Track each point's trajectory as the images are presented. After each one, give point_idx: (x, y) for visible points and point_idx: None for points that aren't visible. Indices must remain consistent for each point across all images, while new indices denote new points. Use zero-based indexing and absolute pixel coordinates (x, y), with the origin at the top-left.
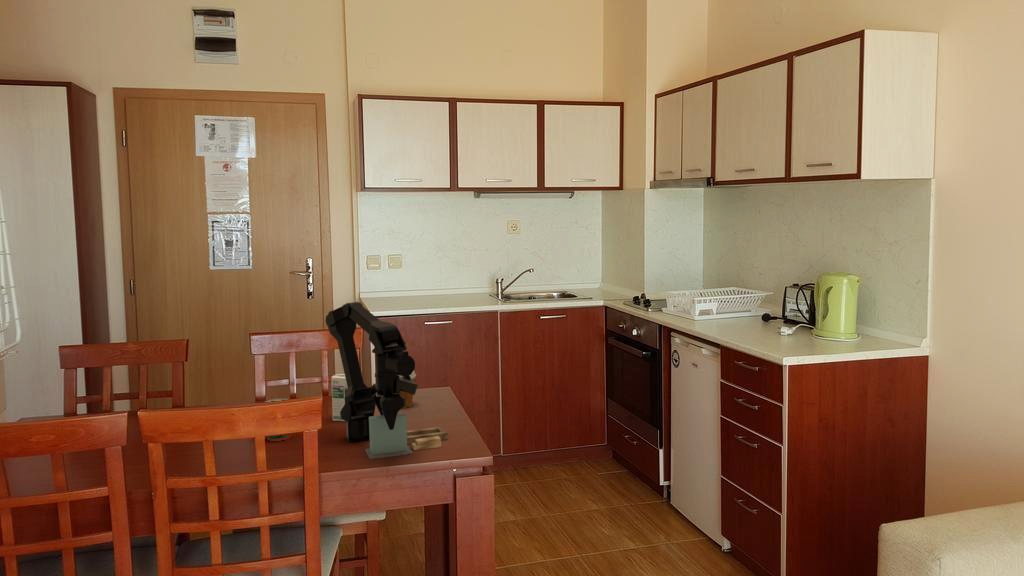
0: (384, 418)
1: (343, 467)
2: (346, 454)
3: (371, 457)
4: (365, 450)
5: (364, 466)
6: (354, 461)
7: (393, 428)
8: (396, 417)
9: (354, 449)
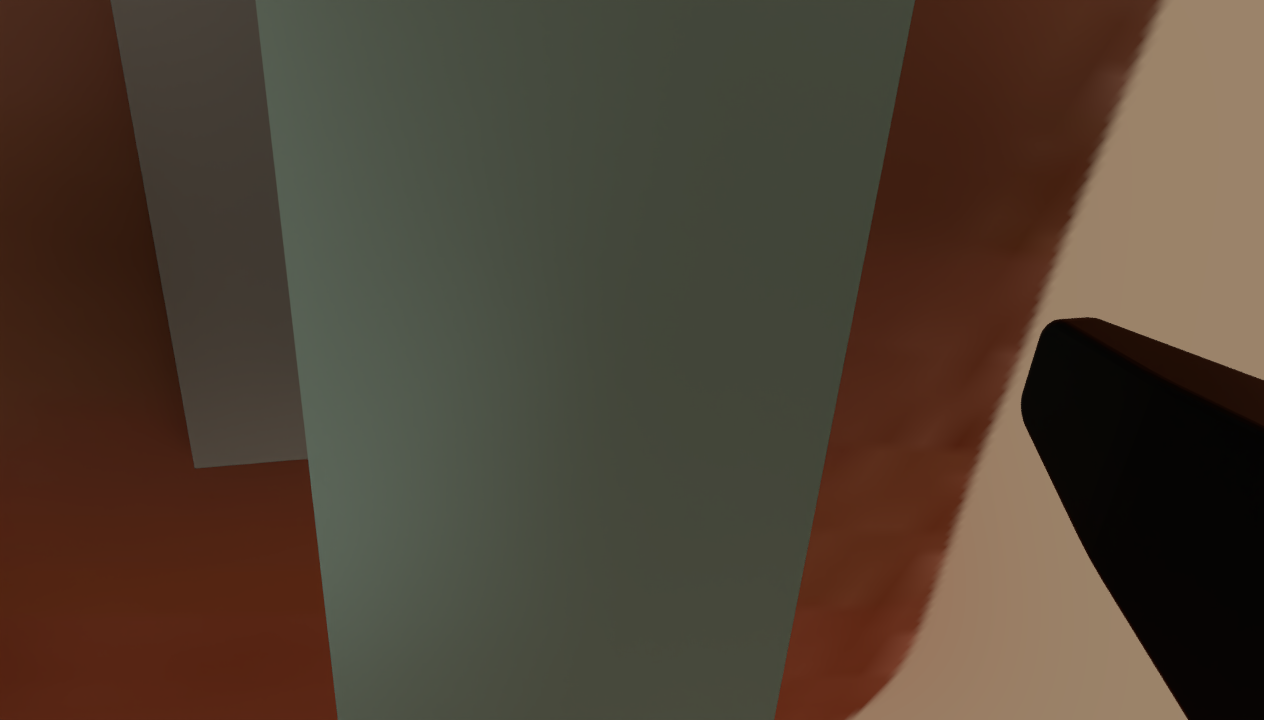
0: (767, 708)
1: (800, 683)
2: (309, 673)
3: None
4: (251, 458)
5: (904, 487)
6: None
7: (1117, 333)
8: (832, 296)
9: (80, 587)
